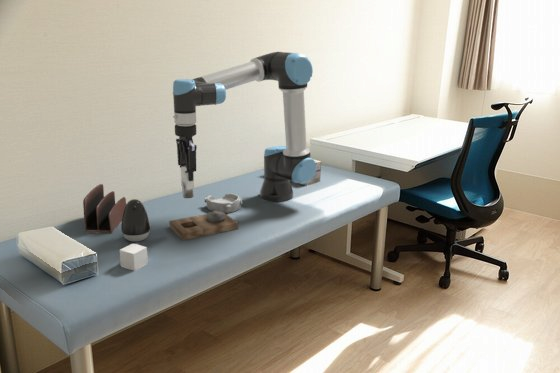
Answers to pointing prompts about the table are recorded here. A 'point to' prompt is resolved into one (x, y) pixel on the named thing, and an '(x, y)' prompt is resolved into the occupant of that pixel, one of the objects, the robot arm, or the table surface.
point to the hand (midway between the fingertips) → (187, 187)
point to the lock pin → (185, 192)
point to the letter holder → (102, 211)
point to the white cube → (133, 256)
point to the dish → (224, 203)
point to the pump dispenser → (135, 221)
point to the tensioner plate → (203, 225)
